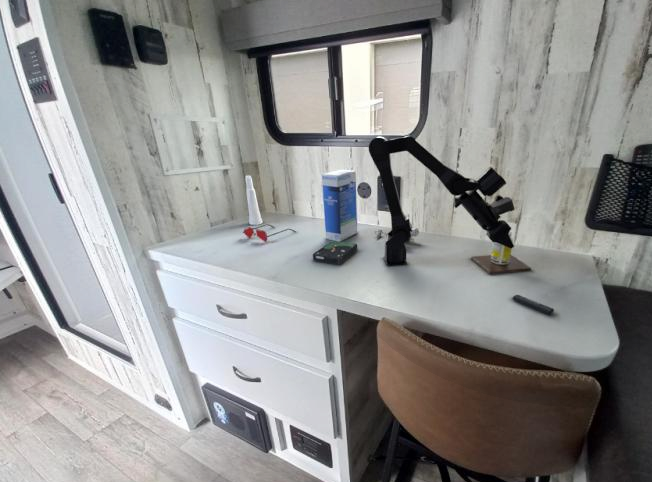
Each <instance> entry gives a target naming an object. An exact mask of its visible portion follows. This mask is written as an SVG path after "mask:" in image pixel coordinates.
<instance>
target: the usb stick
mask: <svg viewBox="0 0 652 482" xmlns="http://www.w3.org/2000/svg"><path fill="white" fill-rule="evenodd" d="M512 300H513V301H514V302H516V303H519V304H521V305H524V306H526V307H528V308H530V309H534V310H535V311H537V312H539V313H542V314H545V315H548V316H551V315H552V314H553V313H554V312H555V309H554V308H553V307H550V306H548V305H545V304H543V303H540V302H538V301H535V300H533V299H531V298H528V297H525V296H523V295H520V294H515V295H513V297H512Z"/></svg>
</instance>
